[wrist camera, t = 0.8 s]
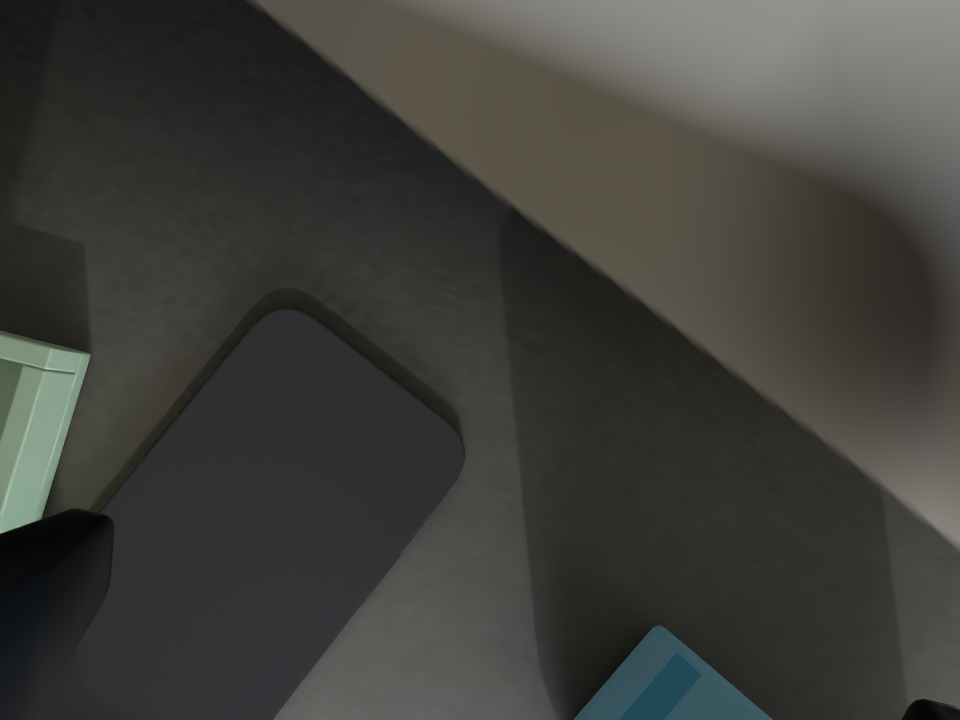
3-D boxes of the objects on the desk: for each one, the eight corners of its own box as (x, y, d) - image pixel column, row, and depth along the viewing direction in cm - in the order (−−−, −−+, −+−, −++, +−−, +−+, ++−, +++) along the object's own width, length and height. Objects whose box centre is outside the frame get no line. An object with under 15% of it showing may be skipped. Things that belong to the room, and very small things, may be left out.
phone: (-82, 726, 20) (278, 288, 22) (-62, 714, 21) (283, 292, 23) (141, 893, 21) (483, 448, 22) (152, 874, 22) (481, 447, 23)
